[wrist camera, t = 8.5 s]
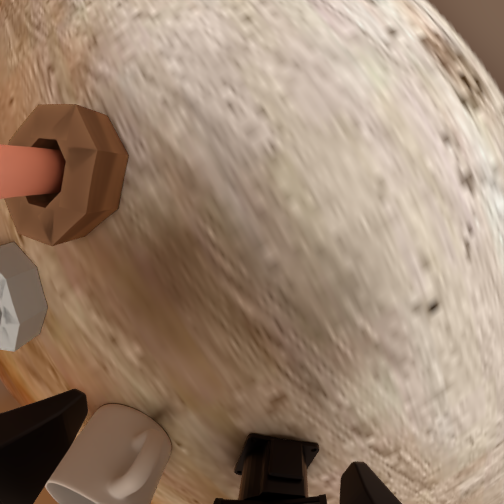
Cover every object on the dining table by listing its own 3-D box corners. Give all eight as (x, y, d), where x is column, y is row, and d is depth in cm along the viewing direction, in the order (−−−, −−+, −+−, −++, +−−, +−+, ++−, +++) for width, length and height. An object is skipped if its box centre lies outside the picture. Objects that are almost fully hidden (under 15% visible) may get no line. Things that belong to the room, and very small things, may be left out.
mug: (145, 467, 25) (112, 539, 14) (84, 420, 24) (35, 486, 14) (212, 431, 23) (184, 532, 12) (136, 371, 22) (70, 462, 11)
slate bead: (56, 334, 22) (30, 353, 18) (6, 331, 23) (-17, 346, 19) (30, 237, 20) (-2, 246, 17) (-17, 251, 21) (-43, 259, 18)
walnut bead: (113, 244, 20) (81, 256, 16) (31, 219, 20) (-1, 225, 16) (137, 118, 18) (108, 105, 14) (49, 113, 18) (17, 105, 14)
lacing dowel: (87, 194, 19) (-5, 204, 11) (59, 188, 19) (-30, 196, 11) (94, 154, 19) (3, 145, 10) (66, 150, 19) (-23, 143, 10)
